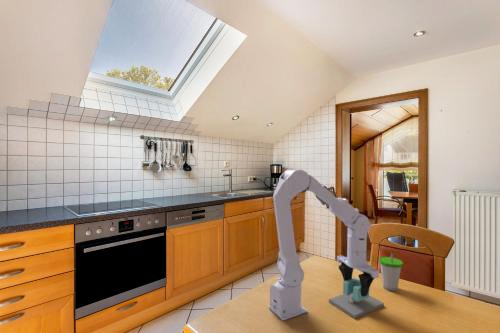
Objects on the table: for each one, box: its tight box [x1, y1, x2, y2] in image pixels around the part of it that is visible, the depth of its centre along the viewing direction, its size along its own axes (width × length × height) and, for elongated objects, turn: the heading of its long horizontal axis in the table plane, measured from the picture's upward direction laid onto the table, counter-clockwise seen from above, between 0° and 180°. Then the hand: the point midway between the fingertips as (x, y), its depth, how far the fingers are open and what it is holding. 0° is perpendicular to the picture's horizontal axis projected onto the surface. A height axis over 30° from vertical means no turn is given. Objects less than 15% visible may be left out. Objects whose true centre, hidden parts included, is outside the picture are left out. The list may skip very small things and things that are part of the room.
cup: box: [378, 251, 404, 292], centre depth 93 cm, size 8×8×15 cm
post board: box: [328, 293, 385, 320], centre depth 82 cm, size 14×10×4 cm
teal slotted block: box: [342, 277, 370, 302], centre depth 82 cm, size 6×6×4 cm
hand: (356, 291), depth 82 cm, fingers closed on teal slotted block, 6 cm apart
